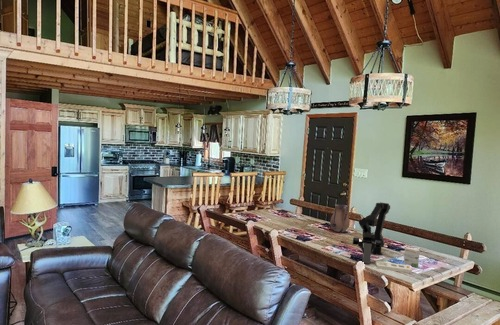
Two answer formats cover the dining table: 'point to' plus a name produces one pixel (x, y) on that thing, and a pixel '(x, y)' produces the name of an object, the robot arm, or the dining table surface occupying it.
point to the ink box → (411, 256)
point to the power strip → (393, 267)
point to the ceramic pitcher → (340, 218)
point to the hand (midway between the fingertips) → (367, 253)
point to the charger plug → (367, 253)
